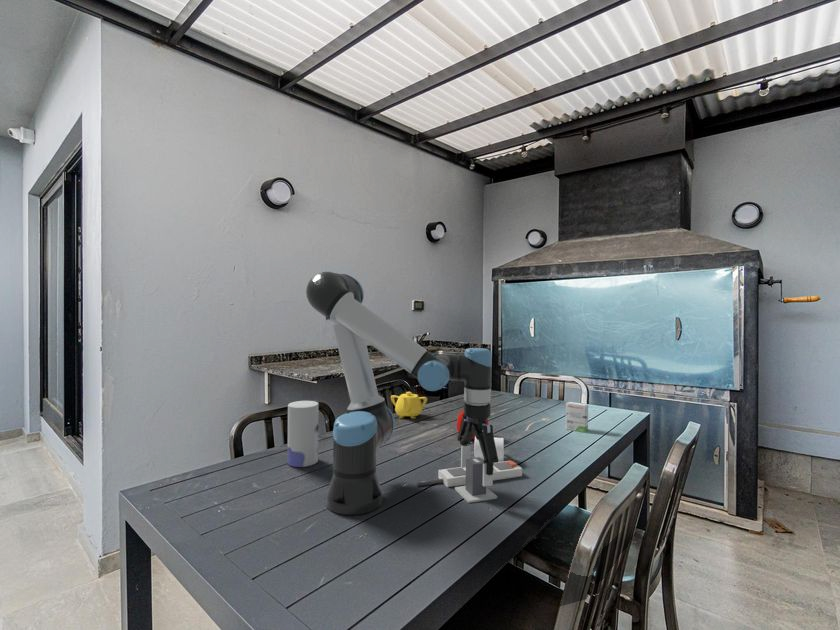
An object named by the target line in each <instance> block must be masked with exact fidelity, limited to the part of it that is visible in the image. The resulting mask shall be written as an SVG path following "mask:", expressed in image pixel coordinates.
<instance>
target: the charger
mask: <svg viewBox="0 0 840 630" xmlns="http://www.w3.org/2000/svg"><path fill="white" fill-rule="evenodd" d="M483 461H485V460H483V459H481V458H480V457H477V458H474V457H470V458H469V459H466V485H464V486H465V490H466V491H468V492H469V493H470V494H471V495H472V496H476V495H482V494H486V487H487V486H485V487H484V486H483Z"/></svg>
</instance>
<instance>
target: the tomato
mask: <svg viewBox="0 0 840 630" xmlns="http://www.w3.org/2000/svg"><path fill="white" fill-rule="evenodd" d="M463 414H464V409H463V410H461V411H460V412H459V414H458V415H457V419H456V430H457V433H458V434H459V431H460V427H461V424H462V418H463ZM486 424H487V425H489V417H488V418H487V419H486ZM471 440H474V441H475V435H473V437H472V439H471Z"/></svg>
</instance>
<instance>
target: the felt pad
mask: <svg viewBox="0 0 840 630" xmlns="http://www.w3.org/2000/svg"><path fill="white" fill-rule="evenodd" d="M454 490H455V491H456V493H458V494H459V495H460V496H461V497H462V498H463V499H464V500H465V501H466V502H467V503H468V504H471V503H472V504H473V503H477V502H478V503H479V502H483V501H490V500H496V499H498V495H496V494H495V493H494V492H493V491H492V490H490V489H489V488H488V486H486V494H482V495H476V496H472V495H471V494H470V493H469V492H468V491H466V490H465V485H459V486H454Z"/></svg>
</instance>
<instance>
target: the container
mask: <svg viewBox="0 0 840 630" xmlns="http://www.w3.org/2000/svg"><path fill="white" fill-rule="evenodd" d="M287 404H288V405H287V464H288V465H289V466H291V467H295V468H304V467H310V466H314V465H315V464H316V463H318V461H319V402H318V401H315V400H298V401H293V402H290V403H287Z"/></svg>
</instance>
